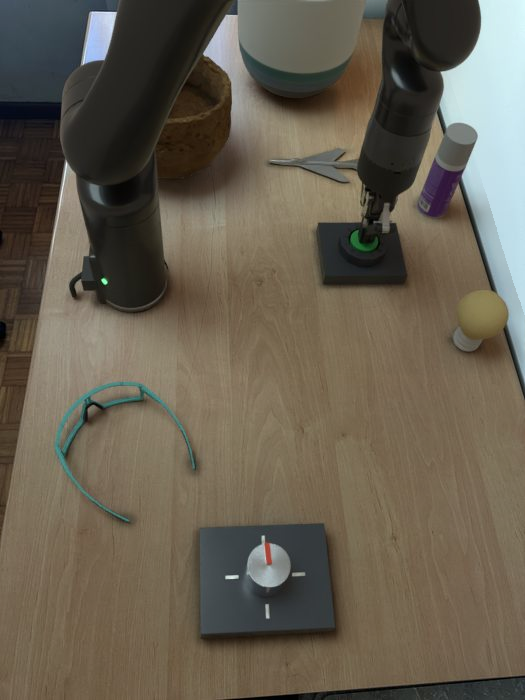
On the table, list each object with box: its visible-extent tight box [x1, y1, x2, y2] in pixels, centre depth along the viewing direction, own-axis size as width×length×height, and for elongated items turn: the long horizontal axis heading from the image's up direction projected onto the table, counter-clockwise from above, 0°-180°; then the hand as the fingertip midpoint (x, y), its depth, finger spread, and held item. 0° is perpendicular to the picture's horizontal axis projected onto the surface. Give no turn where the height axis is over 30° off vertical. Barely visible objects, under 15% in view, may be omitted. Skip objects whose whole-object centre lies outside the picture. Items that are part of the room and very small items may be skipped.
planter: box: [237, 0, 367, 99], centre depth 110 cm, size 20×20×21 cm
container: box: [416, 122, 479, 220], centre depth 99 cm, size 5×5×15 cm
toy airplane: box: [268, 147, 359, 183], centre depth 108 cm, size 8×21×2 cm, turn 90°
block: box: [315, 221, 408, 286], centre depth 97 cm, size 12×10×4 cm
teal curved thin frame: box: [54, 381, 196, 523], centre depth 79 cm, size 14×15×5 cm
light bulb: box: [452, 289, 510, 353], centre depth 88 cm, size 6×6×10 cm
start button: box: [349, 230, 378, 253], centre depth 96 cm, size 4×4×2 cm
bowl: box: [155, 53, 233, 180], centre depth 100 cm, size 19×19×15 cm
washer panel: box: [199, 522, 336, 639], centre depth 73 cm, size 14×11×3 cm
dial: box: [245, 543, 291, 597], centre depth 69 cm, size 4×4×5 cm
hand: (365, 239), depth 95 cm, fingers closed
